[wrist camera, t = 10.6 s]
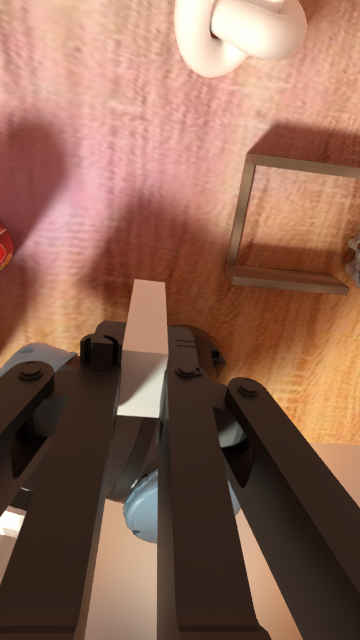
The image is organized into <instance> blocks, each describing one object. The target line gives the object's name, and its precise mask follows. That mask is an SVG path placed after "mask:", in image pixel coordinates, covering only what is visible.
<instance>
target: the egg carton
mask: <svg viewBox="0 0 360 640" xmlns="http://www.w3.org/2000/svg"><path fill="white" fill-rule="evenodd" d="M358 243H360V230H359V232H358V234H357V235H356V236H355V237H354V238H351V239H349V244H348V247H350V248H352V249H354V250H355V252H356V255H355V258H354V259H353V260H352V261H351V262H350V263H348V264H346V265H345V272H347V273H348V274H350V275H351V276H352V279H353V280H355V283H356V288H360V277H359V276H360V274H359V272H358V271H359V270H360V249H358V248H357V245H358Z"/></svg>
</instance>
